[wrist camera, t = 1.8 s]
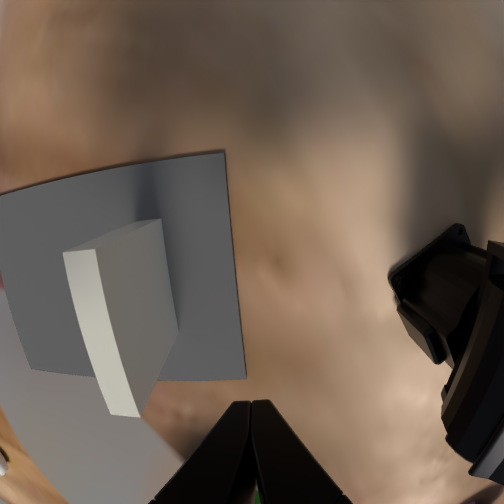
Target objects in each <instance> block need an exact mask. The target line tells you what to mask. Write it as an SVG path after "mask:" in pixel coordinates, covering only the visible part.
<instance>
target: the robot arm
mask: <svg viewBox="0 0 504 504" xmlns="http://www.w3.org/2000/svg"><path fill="white" fill-rule="evenodd" d="M458 228H459V233H458V234H457V230H458ZM398 276H399V279H398V281H397V282H394V280H395V278H396V277H398ZM388 281H389V284H390V286H391V288H392V290H393V292H394V294H395V296H396V298H397V300H398V302H399V305H398V306H397V312H398V314H399V316H400V318H401V320H402V322H403V324H404V326H405V328H406V330H407V332H408V334H409V336H410V337H411V338H412V339H413V340H414V341H415V342H416V344H417V345H418V346H419V347H420V348H421V349H422V350H423V351H424V352H425V354H426V355H427V356H428V357H429V358H430V359H431V360H432V361H433V362H434V364H438V365H440V364H441V363H442V362H443V361H445V362H446V363H447V364H448V365H449V366H450V367H451V368H452V369H453V370H452V373H451V375H450V377H449V380H448V382H447V384H446V385H444V387H443V390H442V392H441V397H442V401H443V404H442V411H441V419H442V421H443V424H444V426H445V429H446V432H447V435H446V437H445V440H446V442H447V443H448V444H449V446H450V447H451V448H452V449H453V450H454V451H455V453H457V454H458V455H459V456H461V457H462V458H463V459H464V460H466V461H468V462H470V463H472V464H473V465H472V466H471V468H470V469H469V471H468V473H469V475H471V476H475V477H480V478H486V479H489V480H492V481H494V482H497V483H499V484H502V485H503V486H504V243H501V242H496V241H491V240H488V245H487V250H484V249H481V248H479V247H476V246H473V245H471V243H470V240H469V237H468V234H467V232H466V229H465V227H464V225H462V224H460V223H455V224H454V225H452V226H451V227H450V228H449V229H448V230H446V231H445V232H444V233H443V234H441V235H440V236H439V237H438V238H436V239H435V240H434V241H433V242H431V243H430V244H429V245H428V246H426V247H425V248H424V249H422V250H421V251H420V252H419V253H417V254H416V255H415V256H413V257H412V258H411V259H409V260H408V261H407V262H405V263H404V264H403V265H401V266H400V267H399V268H397V269H396V270H394V271H393V272H392V273H391V274H390V275H389V278H388ZM256 481H257V488H258V494H259V499H260V504H353V503H352V502H351V501H350V499H349V498H348V497H347V496H346V495H343V492H342V490H341V489H340V488H339V487H338V486H337V484H336V483H335V482H334V481H333V480H332V479H331V477H330V476H329V475H328V474H327V472H326V471H325V470H324V469H323V468H322V466H321V465H320V464H319V463H318V461H317V460H316V459H315V458H314V456H313V455H312V454H311V453H310V451H309V450H308V449H307V448H306V446H305V445H304V444H303V443H302V441H301V440H300V439H299V437H298V436H297V435H296V434H295V432H294V431H293V430H292V428H291V427H290V426H289V424H288V423H287V422H286V421H285V419H284V418H283V417H282V415H281V414H280V413H279V411H278V410H277V409H276V407H275V406H274V404H273V403H272V402H271V401H270V400H268V399H264V400H254V401H252V403H251V401H234V402H232V404H231V405H230V406H229V407H228V409H227V410H226V411H225V413H224V414H223V415H222V417H221V418H220V419H219V420H218V422H217V423H216V424H215V425H214V427H213V428H212V429H211V431H210V432H209V433H208V434H207V436H206V437H205V438H204V439H203V441H202V442H201V443H200V444H199V445H198V447H197V448H196V449H195V450H194V452H193V453H192V454H191V455H190V456H189V458H188V459H187V460H186V461H185V462H184V464H183V465H182V466H181V467H180V468H179V469H178V471H177V472H176V473H175V474H174V475H173V477H172V478H171V479H170V480H169V481H168V482H167V483H166V485H165V486H164V487H163V488H162V489H161V490H160V491H159V492H158V494H157V495H156V496H155V500H151V501H150V502H149V503H148V504H254V503H255V494H256Z"/></svg>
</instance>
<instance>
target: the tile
mask: <svg viewBox="0 0 504 504" xmlns="http://www.w3.org/2000/svg"><path fill="white" fill-rule="evenodd" d="M63 258H64V263H65V268H66V273H67V278H68V282H69V287H70V291H71V295H72V299H73V303H74V307H75V311H76V315H77V318H78V322H79V326H80V329H81V332H82V336H83V339H84V342H85V346H86V349H87V352H88V355H89V358H90V361H91V364H92V367H93V370H94V372H95V375H96V378H97V381H98V383H99V386H100V389H101V391H102V394H103V396H104V399H105V401H106V403H107V406H108V409H109V411H110V413H111V414H113V415H121V416H131V417H141V415H142V412H143V410H144V408H145V406H146V403H147V401H148V399H149V397H150V394H151V392H152V390H153V388H154V385H155V383H156V381H157V379H158V376H159V374H160V372H161V370H162V368H163V365H164V363H165V361H166V359H167V357H168V354H169V352H170V350H171V348H172V346H173V344H174V341H175V339H176V337H177V335H178V333H179V330H178V325H177V319H176V314H175V308H174V303H173V297H172V291H171V285H170V278H169V272H168V265H167V258H166V251H165V244H164V236H163V228H162V220H161V218H160V219H151V220H143V221H137V222H135V223H132V224H130V225H127V226H124V227H122V228H119V229H117V230H114V231H112V232H110V233H107V234H105V235H102V236H100V237H97V238H95V239H93V240H90V241H88V242H85V243H83V244H81V245H78V246H76V247H74V248H71V249H69V250H67V251H65V252H63Z"/></svg>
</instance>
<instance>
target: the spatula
mask: <svg viewBox="0 0 504 504" xmlns="http://www.w3.org/2000/svg"><path fill="white" fill-rule="evenodd" d="M7 470H8V466H7V463H6V460H5V458H4V457H3V455H2V453H1V452H0V475H2V476H4V474H5V473H6V471H7Z"/></svg>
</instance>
